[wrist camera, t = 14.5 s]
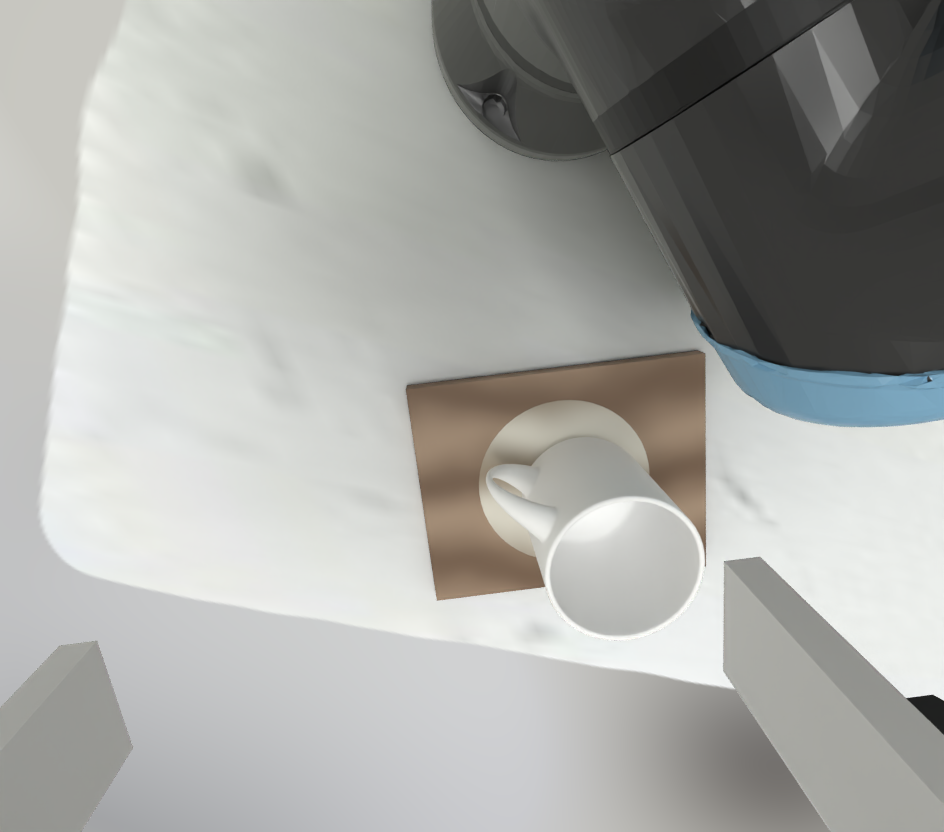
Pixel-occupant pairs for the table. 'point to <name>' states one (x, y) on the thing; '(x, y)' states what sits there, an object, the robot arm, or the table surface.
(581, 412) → the board
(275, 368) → the table surface
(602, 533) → the mug
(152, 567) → the table surface
